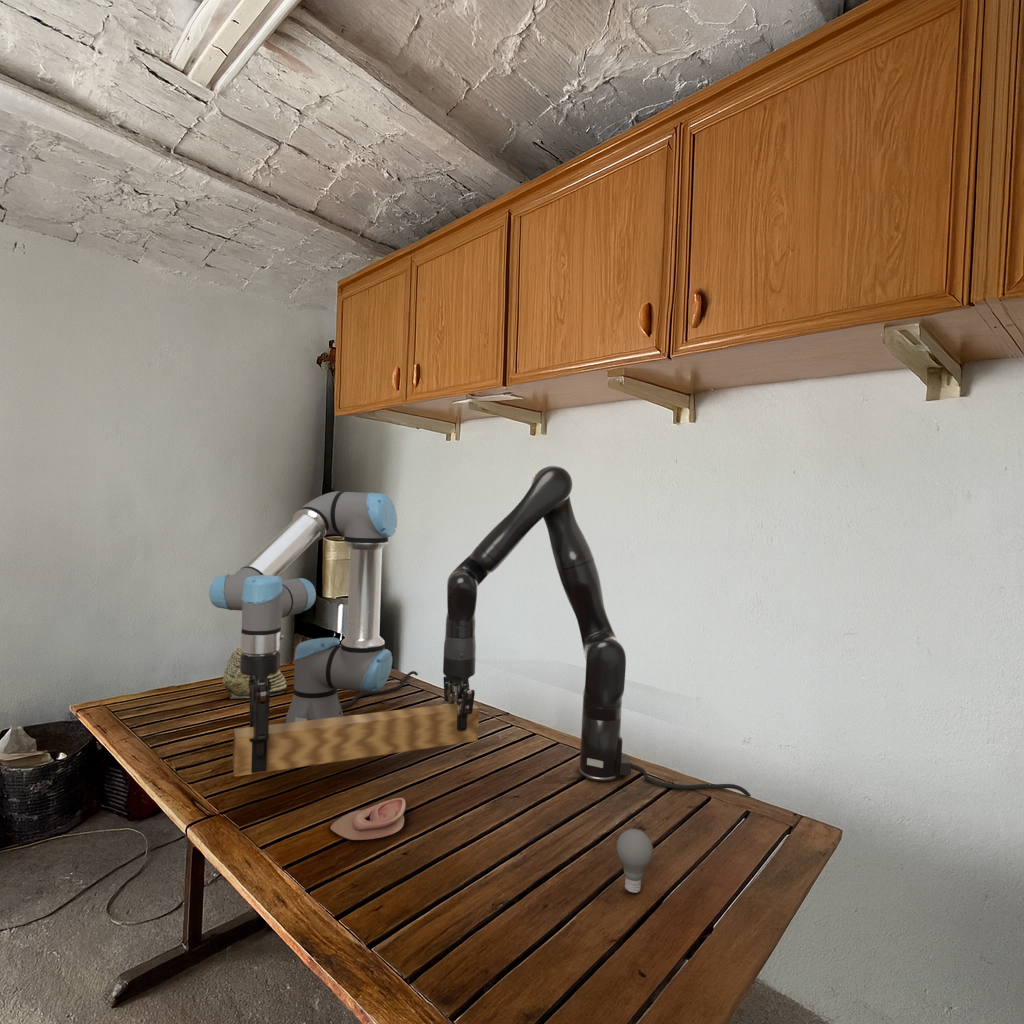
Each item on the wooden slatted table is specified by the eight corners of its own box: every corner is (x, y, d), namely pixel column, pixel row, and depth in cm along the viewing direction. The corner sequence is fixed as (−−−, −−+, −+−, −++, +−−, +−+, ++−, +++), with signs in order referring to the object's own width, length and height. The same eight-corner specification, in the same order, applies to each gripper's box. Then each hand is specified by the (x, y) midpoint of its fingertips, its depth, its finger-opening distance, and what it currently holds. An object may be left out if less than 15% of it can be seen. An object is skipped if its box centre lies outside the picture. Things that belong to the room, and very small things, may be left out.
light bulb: (610, 879, 108) (613, 822, 108) (644, 879, 109) (647, 822, 109) (619, 902, 102) (622, 840, 102) (655, 901, 103) (658, 840, 103)
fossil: (218, 695, 195) (220, 647, 195) (278, 685, 208) (279, 640, 207) (228, 703, 189) (230, 653, 188) (289, 692, 201) (290, 645, 201)
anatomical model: (323, 814, 118) (350, 787, 130) (322, 835, 118) (350, 806, 130) (389, 824, 116) (412, 796, 127) (389, 846, 116) (411, 816, 127)
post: (234, 776, 125) (235, 737, 125) (232, 766, 129) (233, 728, 129) (477, 740, 149) (479, 707, 149) (469, 733, 153) (470, 701, 153)
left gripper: (286, 662, 122) (282, 780, 123) (274, 641, 138) (271, 746, 139) (244, 665, 119) (240, 787, 119) (237, 643, 135) (234, 751, 136)
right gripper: (487, 660, 144) (484, 734, 144) (462, 646, 157) (460, 714, 157) (456, 663, 141) (453, 739, 141) (434, 648, 153) (431, 718, 154)
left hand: (257, 765), depth 129 cm, fingers closed on post, 5 cm apart
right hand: (457, 725), depth 149 cm, fingers closed on post, 5 cm apart
